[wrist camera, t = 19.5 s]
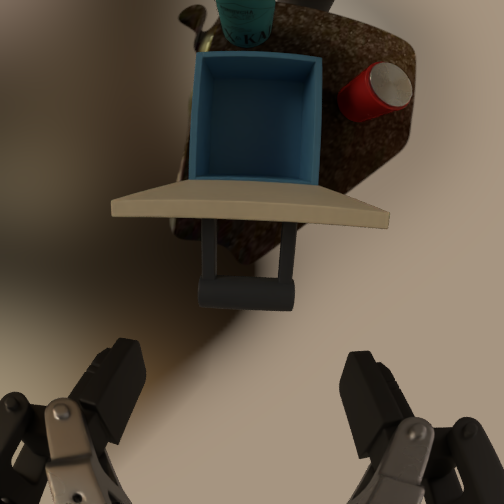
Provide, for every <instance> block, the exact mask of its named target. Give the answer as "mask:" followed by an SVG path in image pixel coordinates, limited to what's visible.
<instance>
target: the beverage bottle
mask: <svg viewBox="0 0 504 504" xmlns="http://www.w3.org/2000/svg"><path fill="white" fill-rule="evenodd" d="M216 3H217V7H218V12H219V15H220V20H221V23H220V25H221V24H222V26H221V27H222V28H223V29H222V28H221V29H222V31H223V32H222V33H223V34H224V35H225V37H226V38H227V39H226V38H225V39H226V40H227V41H229V42H231V43H232V44H234V45H236V46H239V47H244V48H249V47H255V46H258V45H260V44H262V43H263V42H264V41H266V40H267V39H268V37H269V36H270V33H271V27H272V26H273V25H272V22H273V21H272V20H274V18H273V14H274V7H275V6H276V5H275V0H216ZM274 16H275V15H274ZM273 23H274V22H273Z"/></svg>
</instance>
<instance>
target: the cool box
mask: <svg viewBox="0 0 504 504" xmlns="http://www.w3.org/2000/svg"><path fill="white" fill-rule="evenodd" d="M321 118H322V58H320V57H313V56H306V55H298V54H288V53H276V52H258V51H214V52H197V54H196V64H195V74H194V86H193V98H192V113H191V131H190V156H189V180H235V181H259V182H278V183H292V184H305V185H317V186H318V178H319V162H320V144H321Z"/></svg>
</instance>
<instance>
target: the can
mask: <svg viewBox="0 0 504 504" xmlns="http://www.w3.org/2000/svg"><path fill="white" fill-rule="evenodd" d="M411 95H412V87H411V83H410V81H409V79H408V77H407V75H406V74H405V73H404V72H403V71H402V70H401V69H400V68H399V67H397V66H396V65H394V64H391V63H387V62H376V63H373V64H371V65H370V66H369V67H368V68H366V69H365V70H364V71H363V72H361V73H360V74H359V75H358V76H356V77H355V78H354V79H353V80H352V81H350V82H349V83H348V84H347V85H345V86H344V87H343V88H342V89H341V90H340V91H339V93H338V96H337V104H338V107H339V109H340V111H341V113H342V114H343V115H344V116H345V117H346V118H348V119H349V120H351V121H354V122H365V121H368V120H370V119H373V118H376V117H379V116H382V115H385V114H388V113H391V112H394V111H397V110H401V109H403V108H405V107H406V106H407V105H408V103H409V102H410V99H411Z"/></svg>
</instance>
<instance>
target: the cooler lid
mask: <svg viewBox="0 0 504 504" xmlns="http://www.w3.org/2000/svg"><path fill="white" fill-rule="evenodd" d="M111 210H112V216H113V217H177V218H202V275H201V277H200V280H199V286H198V302H199V305H200V307H209V308H224V309H241V310H266V311H292V309H293V306H294V298H295V285H294V280H293V279H292V275H293V265H294V255H295V245H296V234H297V222H298V223H314V224H329V225H343V226H357V227H368V228H380V229H388V225H389V218H390V213H389V212H387V211H384V210H382V209H380V208H377V207H375V206H372V205H369V204H367V203H365V202H362V201H359V200H357V199H354V198H351V197H349V196H346V195H344V194H341V193H338V192H335V191H333V190H330V189H327V188H324V187H321V186H317V185H305V184H292V183H278V182H259V181H235V180H185V181H181V182H177V183H173V184H169V185H165V186H161V187H157V188H154V189H149V190H146V191H142V192H138V193H135V194H131V195H128V196H124V197H121V198H118V199H114V200H112V201H111ZM217 219H240V220H262V221H281V222H282V231H281V245H280V257H279V270H278V278H266V277H244V276H224V275H217Z"/></svg>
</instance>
